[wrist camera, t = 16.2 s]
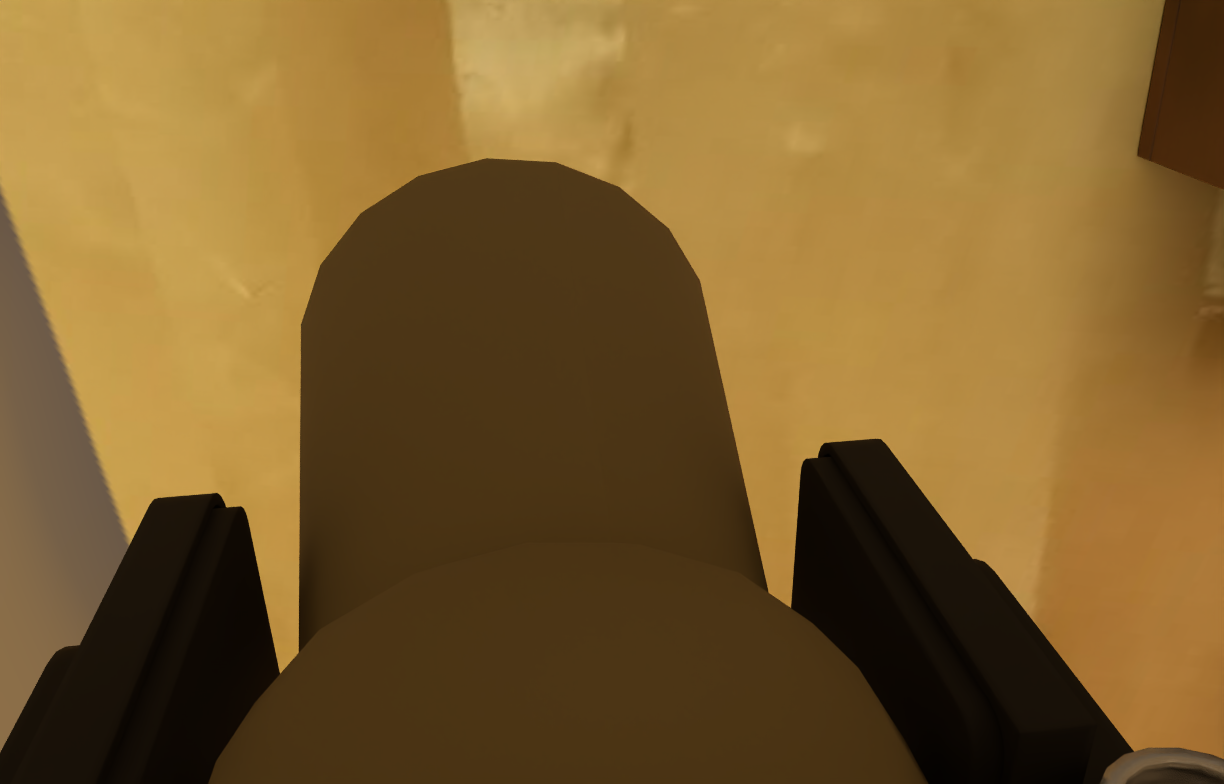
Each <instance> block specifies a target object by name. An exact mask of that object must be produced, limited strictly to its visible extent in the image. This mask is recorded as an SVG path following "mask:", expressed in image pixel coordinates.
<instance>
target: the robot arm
mask: <svg viewBox="0 0 1224 784" xmlns="http://www.w3.org/2000/svg"><path fill="white" fill-rule="evenodd" d="M791 609H793V610H794V611H796V612H797V613H798V614H800V615H801V616H803V617H804V618H806V619H807V620H809V621H810V622H812V623H813V624H814V625H815V626H816V627H817V628H818V629H819V630H820V631H821V632H822V633H823V634H824V635H825V636H826V637H827V638H828V639H829V640H830V641H831V642H832V643H833V644H834V645H835V646H836V647H838V648H839V649H840V650H841V651H842V652H843V653H844V654H845V655H846V656H847V657H848V658H849V659H850V660H851V661H852V662H853V663H854V664H855V665H856V666H857V667H858V668H859V670H860V671H861V673H862V674H863V676H864V678H865V679H866V681H867V682H868V684H869V685H870V687H871V688H872V690H873V691H874V693H875V695H876V696H877V698H878V699H879V701H880V702H881V704H882V705H883V707H884V708H885V710H886V712H887V713H888V715H889V716H890V718H891V719H892V721H893V722H894V724H895V725H896V727H897V729H898V730H899V732H900V733H901V735H902V736H903V738H904V739H905V741H906V743H907V745H908V747H909V748H910V750H911V752H912V754H913V756H914V758H915V760H916V761H917V763H918V765H919V767H920V769H921V771H922V772H923V774H924V776H925V778H926V780H927V782H928V783H929V784H1224V759H1221V758H1219V757H1216V756H1214V755H1211V754H1206V753H1201V752H1197V751H1192V750H1187V749H1182V748H1146V749H1142V750H1139V751H1135V752H1134V751H1133V750H1132V748H1131V747H1130V746H1129V745H1128V743H1127V742H1126V741H1125V739H1124V738H1123V737H1122V736H1121V734H1120V733H1119V732H1118V730H1117V729H1116V728H1115V726H1114V725H1113V724H1112V723H1111V721H1110V720H1109V719H1108V717H1107V716H1106V715H1105V714H1104V712H1103V711H1102V710H1101V708H1100V707H1099V706H1098V704H1097V703H1096V702H1095V701H1094V699H1093V698H1092V697H1091V695H1090V694H1089V693H1088V692H1087V690H1086V689H1085V688H1084V686H1083V685H1082V684H1081V683H1080V681H1079V680H1078V679H1077V677H1076V676H1075V675H1074V673H1073V672H1072V671H1071V670H1070V668H1069V667H1068V666H1067V664H1066V663H1065V662H1064V661H1063V659H1062V658H1061V657H1060V655H1059V654H1058V653H1057V651H1056V650H1055V649H1054V648H1053V646H1052V645H1051V644H1050V642H1049V641H1048V640H1047V639H1046V637H1045V636H1044V635H1043V633H1042V632H1041V631H1040V629H1039V628H1038V627H1037V626H1036V624H1035V623H1034V622H1033V620H1032V619H1031V618H1030V617H1029V615H1028V614H1027V613H1026V611H1025V610H1024V609H1023V608H1022V606H1021V605H1020V604H1019V602H1018V601H1017V600H1016V598H1015V597H1014V596H1013V595H1012V593H1011V592H1010V591H1009V589H1008V588H1007V587H1006V586H1005V584H1004V583H1003V582H1002V580H1001V579H1000V578H999V576H998V575H997V574H996V573H995V571H994V570H993V569H992V568H991V567H989V566H988V565H987V564H986V563H985V562H983V561H980V560H977V559H972V557H971V556H970V555H969V554H968V552H967V551H966V550H965V548H964V547H963V546H962V544H961V543H960V542H959V540H958V539H957V538H956V536H955V535H954V534H953V532H952V531H951V530H950V528H949V527H948V526H947V524H946V523H945V522H944V520H943V519H942V518H941V516H940V515H939V514H938V512H937V511H936V510H935V508H934V507H933V506H932V505H931V503H930V502H929V501H928V499H927V498H926V497H925V495H924V494H923V493H922V491H921V490H920V489H919V487H918V486H917V485H916V483H915V482H914V481H913V479H912V478H911V477H910V475H909V474H908V473H907V471H906V470H905V469H904V467H903V466H902V465H901V463H900V462H899V461H898V459H897V458H896V457H895V456H894V454H893V453H892V452H891V450H890V449H889V448H888V446H887V445H886V444H885V443H884V442H883V441H882V440H881V439H867V440H855V441H843V442H831V443H824V444H823V445H822V446H821V448H820V451H819V454H818V458H810V459H805V460H804V461H803V464H802V468H801V475H800V489H799V504H798V518H797V532H796V546H795V560H794V575H793V589H792V603H791ZM279 675H280V672H279V667H278V663H277V658H276V653H275V648H274V643H273V638H272V634H271V629H270V624H269V619H268V614H267V609H266V605H265V600H264V595H263V590H262V585H261V581H260V576H259V571H258V566H257V561H256V556H255V552H254V547H253V542H252V537H251V532H250V527H249V523H248V519H247V515H246V512H245V510H244V509H243V508H242V507H241V506H240V507H228V508H226V506H225V503H224V501H223V499H222V497H221V496H220V495H219V494H218V493H213V494H201V495H189V496H177V497H165V498H157V499H154V500H153V501H152V503H151V504H150V505H149V507H148V509H147V511H146V513H145V515H144V517H143V519H142V521H141V523H140V525H139V527H138V530H137V532H136V534H135V536H134V538H133V540H132V542H131V544H130V546H129V548H128V550H127V552H126V554H125V556H124V558H123V560H122V562H121V564H120V566H119V568H118V570H117V572H116V574H115V576H114V578H113V580H112V582H111V584H110V586H109V588H108V590H107V592H106V594H105V596H104V598H103V600H102V602H101V604H100V606H99V608H98V610H97V612H96V614H95V616H94V618H93V620H92V622H91V624H90V626H89V628H88V630H87V632H86V634H85V636H84V638H83V640H82V642H81V644H80V645H78V646H68V647H64V648H62V649H60V650H59V651H57V652H56V653H55V654H54V655H53V657H52V658H51V659H50V661H49V662H48V664H47V665H46V667H45V669H44V671H43V673H42V675H41V677H40V678H39V680H38V682H37V684H36V686H35V688H34V690H33V692H32V694H31V696H30V697H29V699H28V701H27V703H26V705H25V707H24V709H23V711H22V713H21V714H20V716H19V718H18V720H17V722H16V724H15V726H14V728H13V730H12V732H11V733H10V735H9V737H8V739H7V741H6V743H5V745H4V747H3V748H2V750H1V752H0V784H208V783H209V780H210V777H211V774H212V771H213V769H214V766H215V763H216V760H217V759H218V757H219V756H220V754H221V753H222V751H223V750H224V748H225V747H226V745H227V744H228V742H229V741H230V739H231V738H232V736H233V735H234V733H235V732H236V730H237V729H238V727H239V726H240V724H241V723H242V721H243V720H244V718H245V717H246V715H247V714H248V712H249V711H250V709H251V708H252V706H253V705H254V703H255V702H256V701H257V700H258V698H259V697H260V696H261V695H262V694H263V693H264V692H265V691H266V689H267V688H268V687H269V686H270V685H271V684H272V683H273V682H274V680H275V679H276V678H277V677H278V676H279Z"/></svg>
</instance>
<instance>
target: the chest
mask: <svg viewBox="0 0 1224 784" xmlns="http://www.w3.org/2000/svg"><path fill="white" fill-rule="evenodd" d="M1138 156H1139V157H1142V158H1144V159H1147V160H1149V161H1152V162H1154V163H1157V164H1159V165H1162V166H1165V167H1167V168H1170V169H1172V170H1175V171H1177V172H1180V173H1182V174H1185V175H1188V176H1190V177H1193V178H1195V179H1198V180H1200V181H1203V182H1205V183H1208V184H1211V185H1213V186H1216V187H1218V188H1221V189H1223V190H1224V0H1166V5H1165V10H1164V15H1163V21H1162V26H1161V32H1160V37H1159V42H1158V48H1157V53H1156V59H1155V64H1154V70H1153V75H1152V80H1151V86H1150V91H1149V97H1148V102H1147V107H1146V113H1145V118H1144V124H1143V129H1142V134H1141V140H1140V145H1139V151H1138Z"/></svg>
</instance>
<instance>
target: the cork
mask: <svg viewBox="0 0 1224 784" xmlns="http://www.w3.org/2000/svg"><path fill="white" fill-rule="evenodd" d="M208 784H929V783H928V782H927V780H926V778H925V776H924V774H923V772H922V771H921V769H920V767H919V765H918V763H917V761H916V760H915V758H914V756H913V754H912V752H911V750H910V748H909V747H908V745H907V743H906V741H905V739H904V738H903V736H902V735H901V733H900V732H899V730H898V729H897V727H896V725H895V724H894V722H893V721H892V719H891V718H890V716H889V715H888V713H887V712H886V710H885V708H884V707H883V705H882V704H881V702H880V701H879V699H878V698H877V696H876V695H875V693H874V691H873V690H872V688H871V687H870V685H869V684H868V682H867V681H866V679H865V678H864V676H863V674H862V673H861V671H860V670H859V668H858V667H857V666H856V665H855V664H854V663H853V662H852V661H851V660H850V659H849V658H848V657H847V656H846V655H845V654H844V653H843V652H842V651H841V650H840V649H839V648H838V647H836V646H835V645H834V644H833V643H832V642H831V641H830V640H829V639H828V638H827V637H826V636H825V635H824V634H823V633H822V632H821V631H820V630H819V629H818V628H817V627H816V626H815V625H814V624H813V623H812V622H810V621H809V620H807V619H806V618H804V617H803V616H801V615H800V614H798V613H797V612H796V611H794V610H793V609H791V608H790V607H788V606H787V605H785V604H784V603H782V602H781V601H780V600H778V599H777V598H775V597H774V596H772V595H771V594H769V593H768V588H767V583H766V579H765V574H764V570H763V565H762V561H761V556H760V552H759V547H758V543H757V538H756V533H755V529H754V524H753V520H752V515H751V511H750V506H749V502H748V497H747V493H746V488H745V483H744V479H743V474H742V470H741V465H740V461H739V456H738V452H737V447H736V443H735V438H734V433H733V429H732V424H731V420H730V415H729V411H728V406H727V402H726V397H725V393H724V388H723V383H722V379H721V374H720V370H719V365H718V361H717V356H716V352H715V347H714V343H713V338H712V333H711V329H710V324H709V320H708V315H707V311H706V306H705V302H704V297H703V293H702V288H701V283H700V280H699V278H698V277H697V275H696V273H695V272H694V270H693V268H692V267H691V265H690V263H689V262H688V260H687V258H686V257H685V255H684V253H683V252H682V250H681V248H680V247H679V245H678V243H677V242H676V240H675V238H674V237H673V235H672V233H671V232H670V230H669V228H667V227H666V226H665V225H664V224H663V223H662V222H660V221H659V220H658V219H657V218H656V217H654V216H653V215H652V214H651V213H650V212H648V211H647V210H646V209H645V208H644V207H642V206H641V205H640V204H639V203H638V202H636V201H635V200H634V199H633V198H632V197H630V196H629V195H628V194H627V193H626V192H624V191H623V190H622V189H621V188H620V187H618V186H615V185H612V184H610V183H607V182H605V181H602V180H600V179H597V178H595V177H592V176H589V175H587V174H584V173H582V172H579V171H577V170H574V169H572V168H569V167H566V166H564V165H561V164H559V163H556V162H539V161H522V160H505V159H488V158H486V159H482V160H478V161H475V162H471V163H467V164H463V165H459V166H455V167H452V168H448V169H444V170H440V171H436V172H432V173H428V174H425V175H421V176H418V177H416V178H415V179H413V180H412V181H410V182H409V183H407V184H405V185H404V186H402V187H401V188H399V189H398V190H396V191H395V192H393V193H392V194H390V195H388V196H387V197H385V198H384V199H382V200H381V201H379V202H378V203H376V204H375V205H373V206H371V207H370V208H368V209H367V210H365V211H364V212H362V213H361V214H360V215H359V216H358V218H357V219H356V220H355V222H354V223H353V224H352V225H351V227H350V228H349V229H348V230H347V232H346V233H345V234H344V236H343V237H342V238H341V239H340V241H339V242H338V243H337V245H336V246H335V247H334V248H333V250H332V251H331V252H330V254H329V255H328V256H327V257H326V259H325V260H324V261H323V262H322V264H321V265H320V268H319V271H318V274H317V277H316V280H315V284H314V287H313V290H312V293H311V296H310V299H309V302H308V305H307V308H306V311H305V314H304V317H303V320H302V324H301V415H300V555H299V653H298V654H297V656H296V657H295V658H294V659H293V660H292V661H291V662H290V664H289V665H288V666H287V667H286V668H285V669H284V670H283V671H282V673H281V674H280V675H279V676H278V677H277V678H276V679H275V680H274V682H273V683H272V684H271V685H270V686H269V687H268V688H267V689H266V691H265V692H264V693H263V694H262V695H261V696H260V697H259V698H258V700H257V701H256V702H255V703H254V705H253V706H252V708H251V709H250V711H249V712H248V714H247V715H246V717H245V718H244V720H243V721H242V723H241V724H240V726H239V727H238V729H237V730H236V732H235V733H234V735H233V736H232V738H231V739H230V741H229V742H228V744H227V745H226V747H225V748H224V750H223V751H222V753H221V754H220V756H219V757H218V759H217V760H216V763H215V766H214V769H213V771H212V774H211V777H210V780H209V783H208Z"/></svg>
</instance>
